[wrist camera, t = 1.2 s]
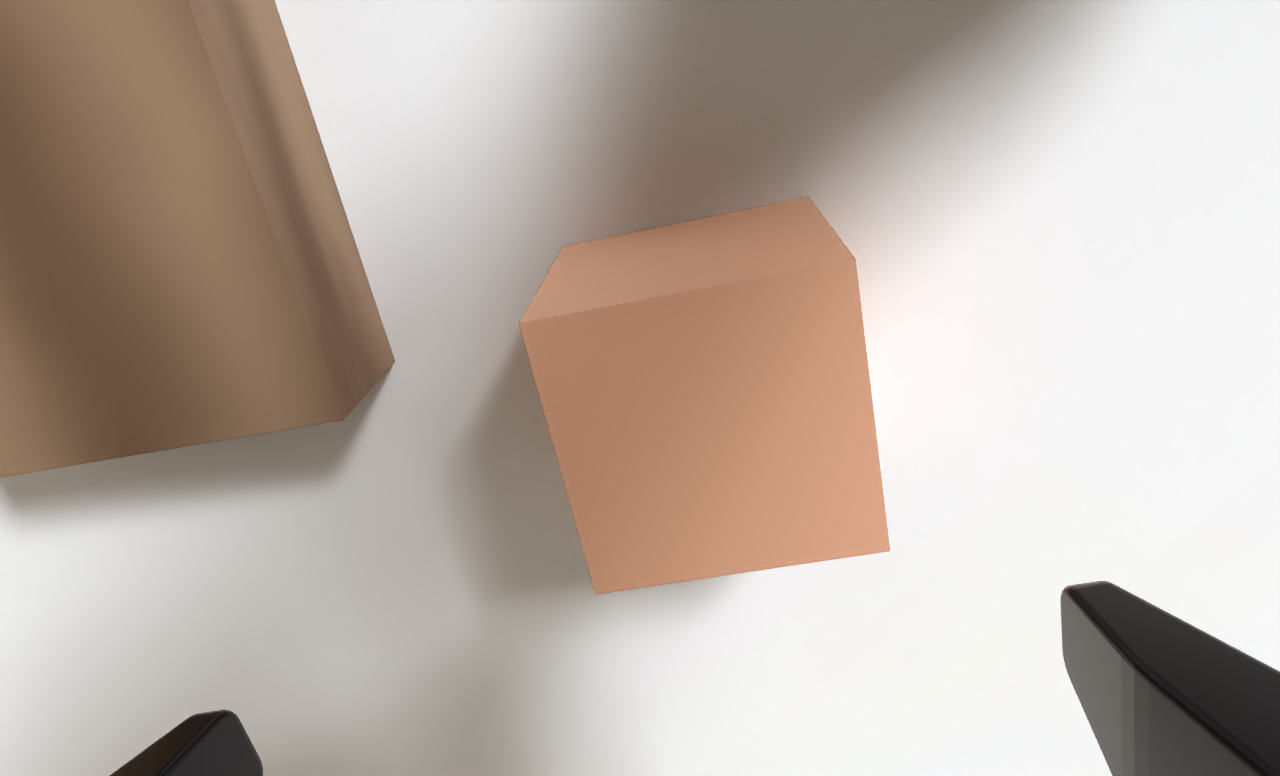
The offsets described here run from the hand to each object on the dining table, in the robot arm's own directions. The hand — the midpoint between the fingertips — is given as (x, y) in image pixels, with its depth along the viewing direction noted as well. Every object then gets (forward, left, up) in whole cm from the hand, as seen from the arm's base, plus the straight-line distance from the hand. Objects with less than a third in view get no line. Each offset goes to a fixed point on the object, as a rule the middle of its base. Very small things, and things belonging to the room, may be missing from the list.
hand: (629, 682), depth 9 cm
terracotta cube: (-1, +1, -13) cm, 13 cm away
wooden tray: (+12, -7, -14) cm, 19 cm away
